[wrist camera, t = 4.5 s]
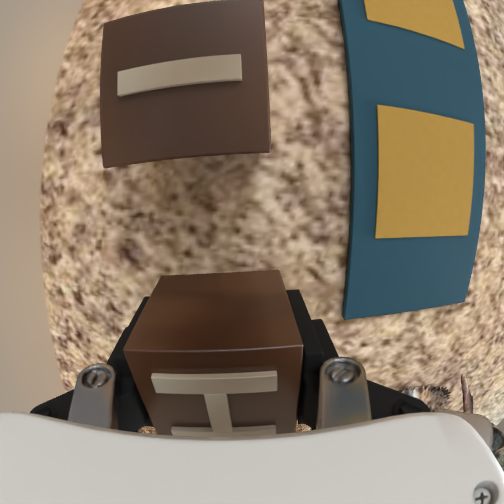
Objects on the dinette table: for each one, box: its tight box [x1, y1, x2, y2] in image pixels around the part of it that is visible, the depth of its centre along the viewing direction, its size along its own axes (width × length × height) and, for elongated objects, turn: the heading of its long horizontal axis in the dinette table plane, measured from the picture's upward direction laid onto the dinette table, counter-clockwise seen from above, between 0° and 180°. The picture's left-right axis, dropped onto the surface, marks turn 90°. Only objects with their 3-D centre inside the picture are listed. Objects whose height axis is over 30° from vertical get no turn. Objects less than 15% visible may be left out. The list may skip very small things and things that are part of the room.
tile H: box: [123, 270, 303, 437], centre depth 9 cm, size 4×4×5 cm
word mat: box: [338, 0, 486, 320], centre depth 10 cm, size 8×24×1 cm, turn 2°
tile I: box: [100, 0, 271, 168], centre depth 8 cm, size 4×4×5 cm
